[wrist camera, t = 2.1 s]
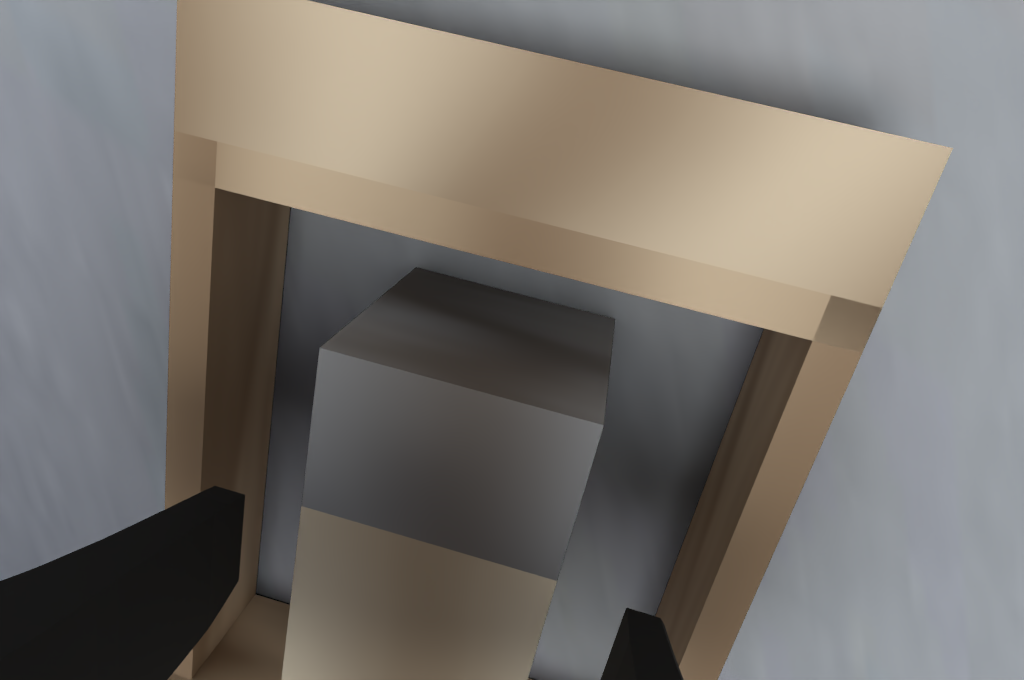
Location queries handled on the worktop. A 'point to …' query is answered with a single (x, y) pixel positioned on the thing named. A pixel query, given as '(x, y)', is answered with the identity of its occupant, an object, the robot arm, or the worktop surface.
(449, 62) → the tan wooden flat frame
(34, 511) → the worktop surface
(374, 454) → the capped bar
